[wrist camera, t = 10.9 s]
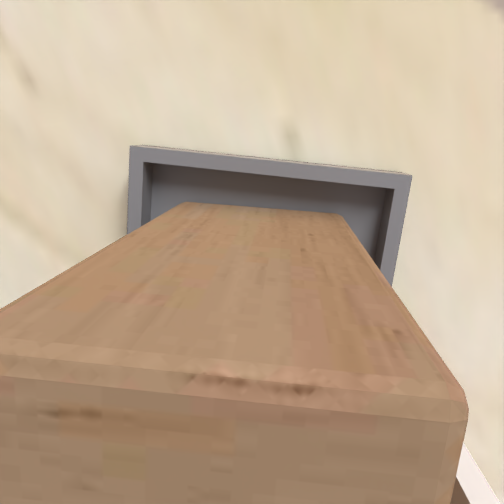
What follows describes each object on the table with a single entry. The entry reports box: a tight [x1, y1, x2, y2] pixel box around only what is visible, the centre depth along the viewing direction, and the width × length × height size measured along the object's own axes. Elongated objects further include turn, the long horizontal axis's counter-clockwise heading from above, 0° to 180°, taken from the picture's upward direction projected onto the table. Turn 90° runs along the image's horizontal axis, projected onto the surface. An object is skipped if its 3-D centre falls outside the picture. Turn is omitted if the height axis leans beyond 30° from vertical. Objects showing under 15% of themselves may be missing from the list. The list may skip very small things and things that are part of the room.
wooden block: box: [0, 202, 469, 504], centre depth 19 cm, size 10×10×20 cm
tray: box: [127, 145, 412, 287], centre depth 28 cm, size 16×16×2 cm
